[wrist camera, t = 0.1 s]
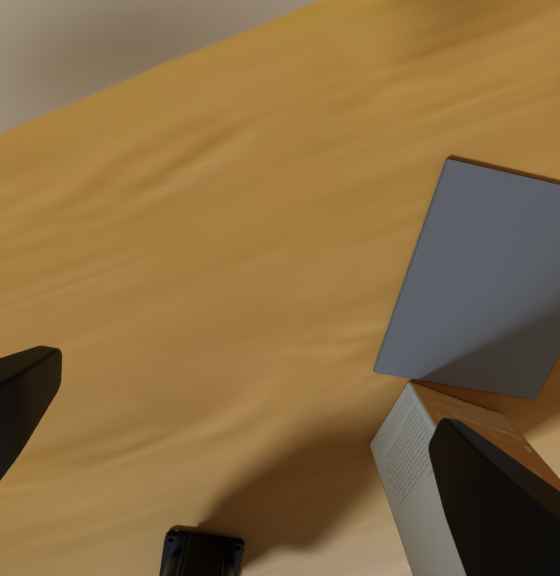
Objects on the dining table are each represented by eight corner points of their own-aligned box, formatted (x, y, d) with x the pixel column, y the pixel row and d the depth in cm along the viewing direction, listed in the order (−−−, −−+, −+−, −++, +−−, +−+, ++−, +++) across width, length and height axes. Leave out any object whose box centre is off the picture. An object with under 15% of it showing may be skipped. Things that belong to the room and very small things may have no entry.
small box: (504, 411, 27) (693, 626, 15) (457, 473, 29) (592, 706, 17) (407, 377, 26) (529, 581, 14) (366, 444, 28) (440, 673, 16)
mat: (532, 397, 27) (535, 399, 26) (373, 369, 26) (374, 372, 25) (636, 203, 22) (640, 203, 22) (445, 158, 21) (448, 159, 21)
